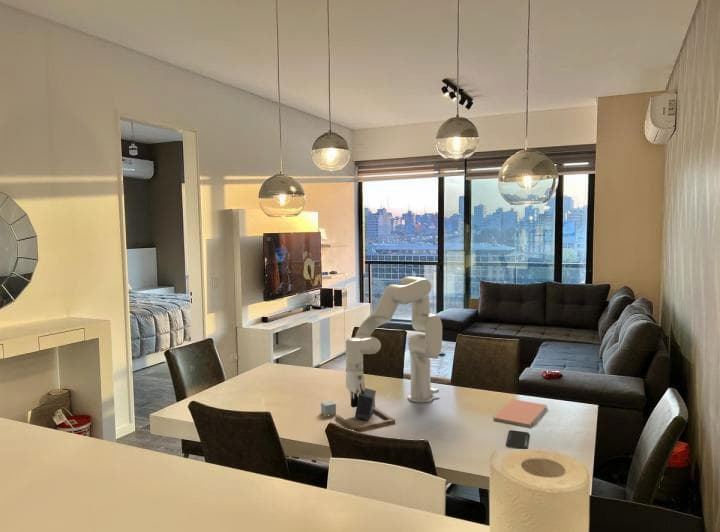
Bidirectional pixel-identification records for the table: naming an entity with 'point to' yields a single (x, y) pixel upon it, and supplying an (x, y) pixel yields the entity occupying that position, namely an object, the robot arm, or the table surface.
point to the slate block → (328, 408)
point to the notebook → (521, 413)
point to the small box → (365, 404)
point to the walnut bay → (368, 426)
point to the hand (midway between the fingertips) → (354, 406)
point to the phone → (517, 439)
